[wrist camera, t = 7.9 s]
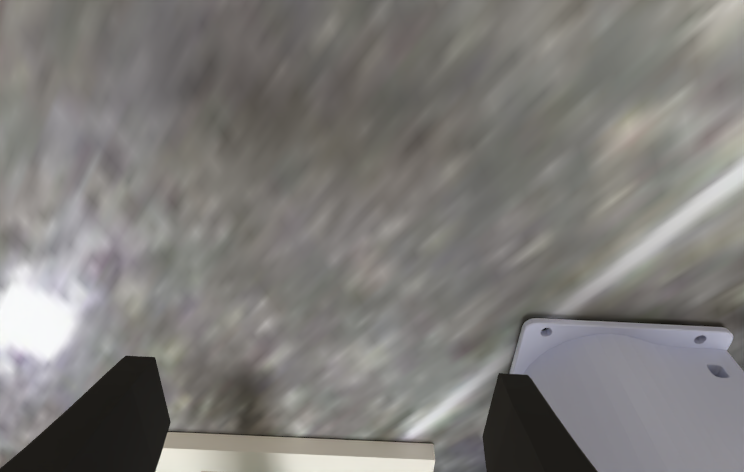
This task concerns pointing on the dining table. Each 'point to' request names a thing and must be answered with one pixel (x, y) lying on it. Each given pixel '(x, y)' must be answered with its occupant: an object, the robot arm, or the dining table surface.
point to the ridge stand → (289, 454)
